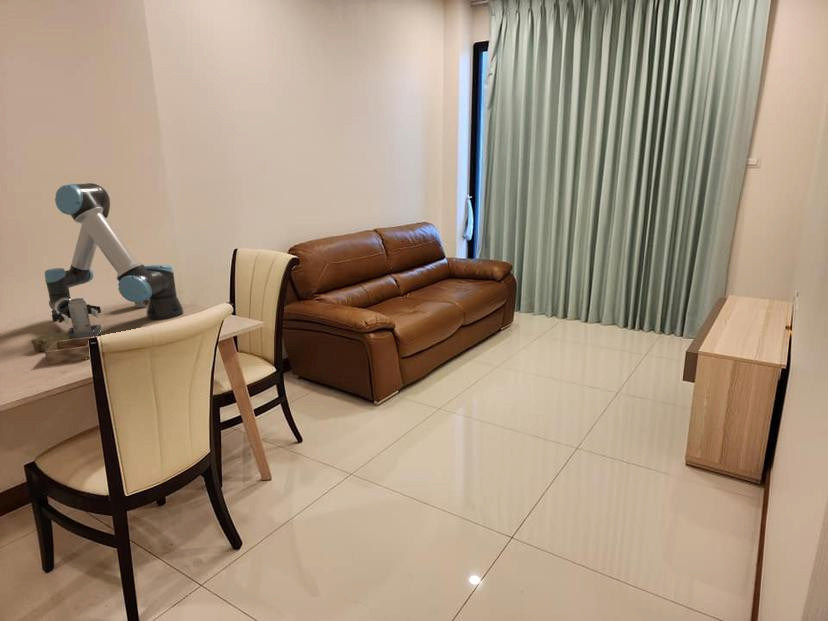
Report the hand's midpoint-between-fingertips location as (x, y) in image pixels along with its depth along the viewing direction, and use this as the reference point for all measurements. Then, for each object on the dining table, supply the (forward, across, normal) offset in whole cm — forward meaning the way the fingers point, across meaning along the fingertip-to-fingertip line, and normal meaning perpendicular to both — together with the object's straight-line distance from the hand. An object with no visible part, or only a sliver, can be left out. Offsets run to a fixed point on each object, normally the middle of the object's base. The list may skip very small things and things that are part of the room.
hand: (82, 317), depth 206 cm
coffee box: (-36, -36, -9) cm, 52 cm away
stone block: (+3, +12, -9) cm, 16 cm away
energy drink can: (-4, 0, -9) cm, 10 cm away
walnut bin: (+21, +10, -8) cm, 25 cm away
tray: (-4, 0, -8) cm, 10 cm away
